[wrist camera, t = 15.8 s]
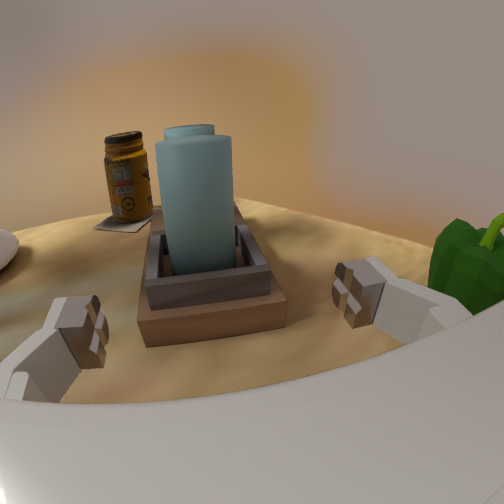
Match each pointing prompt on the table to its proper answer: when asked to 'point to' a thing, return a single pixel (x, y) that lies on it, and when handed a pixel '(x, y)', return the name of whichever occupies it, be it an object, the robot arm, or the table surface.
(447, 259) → the bell pepper
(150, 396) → the table surface
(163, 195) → the column
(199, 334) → the base
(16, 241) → the flower in vase
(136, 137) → the condiment
